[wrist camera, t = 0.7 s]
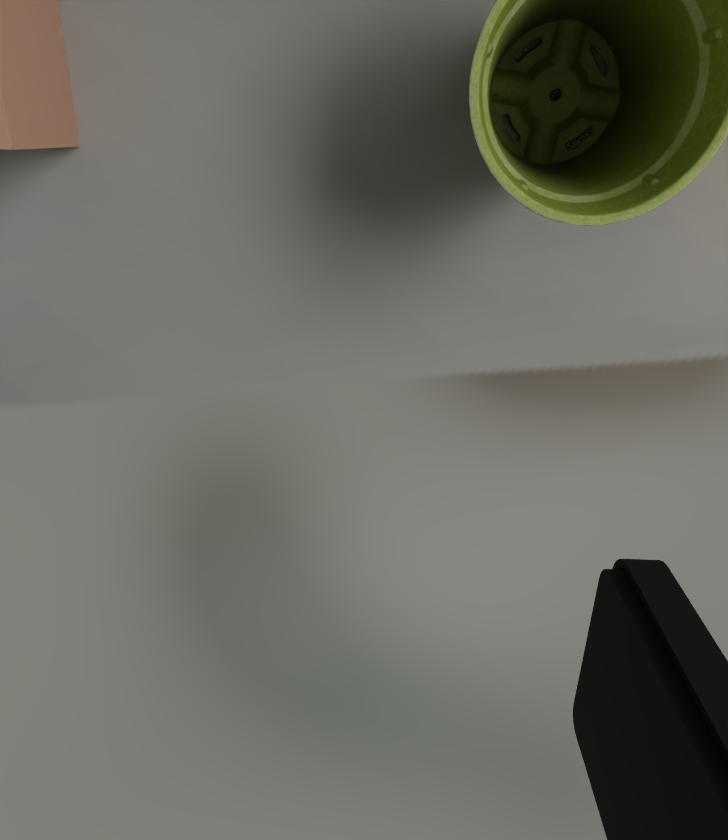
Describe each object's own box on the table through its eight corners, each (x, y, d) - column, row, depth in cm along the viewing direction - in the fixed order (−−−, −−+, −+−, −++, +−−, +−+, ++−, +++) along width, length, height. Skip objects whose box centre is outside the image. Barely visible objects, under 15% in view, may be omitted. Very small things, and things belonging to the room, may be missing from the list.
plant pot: (521, 241, 32) (561, 276, 24) (411, 80, 29) (416, 61, 21) (690, 113, 29) (798, 107, 21) (586, -78, 26) (667, -168, 18)
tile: (9, -49, 28) (-86, -94, 22) (51, -48, 28) (-33, -92, 22) (42, 145, 31) (-34, 147, 26) (80, 146, 31) (12, 149, 26)
